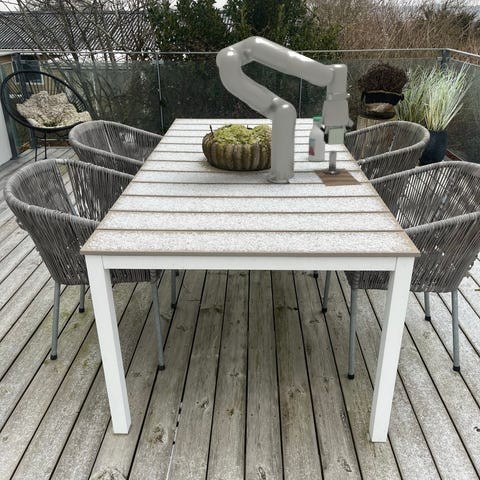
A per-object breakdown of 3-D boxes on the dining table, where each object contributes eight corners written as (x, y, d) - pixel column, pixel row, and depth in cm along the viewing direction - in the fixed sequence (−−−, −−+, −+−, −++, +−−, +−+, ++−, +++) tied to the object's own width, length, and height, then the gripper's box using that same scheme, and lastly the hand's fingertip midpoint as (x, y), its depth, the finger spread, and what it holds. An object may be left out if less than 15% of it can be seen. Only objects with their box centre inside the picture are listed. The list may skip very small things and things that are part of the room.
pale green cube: (343, 144, 191) (344, 129, 188) (328, 144, 190) (329, 129, 188) (339, 141, 196) (340, 126, 194) (325, 141, 196) (325, 127, 194)
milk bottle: (324, 157, 228) (325, 115, 220) (325, 161, 221) (327, 118, 213) (308, 157, 229) (309, 116, 221) (308, 161, 222) (309, 118, 214)
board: (361, 188, 182) (363, 161, 178) (326, 189, 182) (327, 163, 177) (344, 171, 204) (345, 147, 200) (312, 173, 204) (313, 149, 199)
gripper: (354, 95, 190) (352, 139, 197) (312, 97, 189) (311, 141, 196) (360, 97, 183) (357, 143, 190) (316, 99, 182) (315, 145, 189)
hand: (334, 142), depth 193 cm, fingers closed on pale green cube, 5 cm apart
